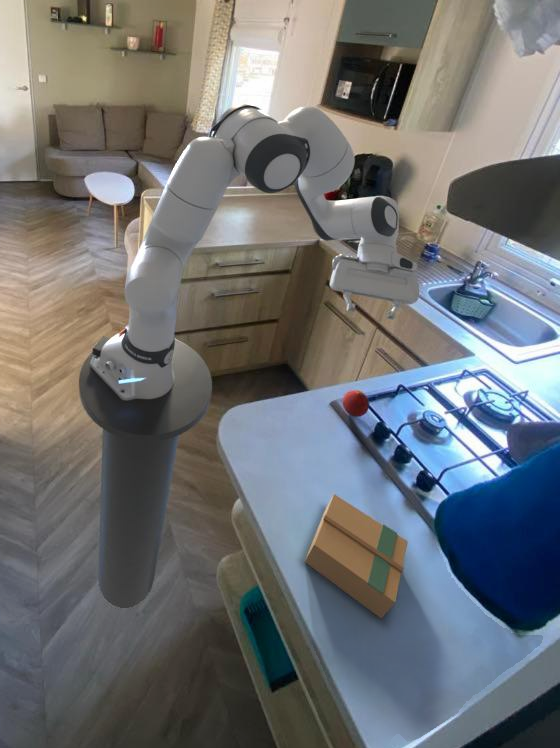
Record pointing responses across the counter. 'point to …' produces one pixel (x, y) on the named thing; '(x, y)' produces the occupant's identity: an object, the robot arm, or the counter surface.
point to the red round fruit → (355, 403)
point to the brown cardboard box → (358, 555)
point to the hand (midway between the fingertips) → (370, 314)
